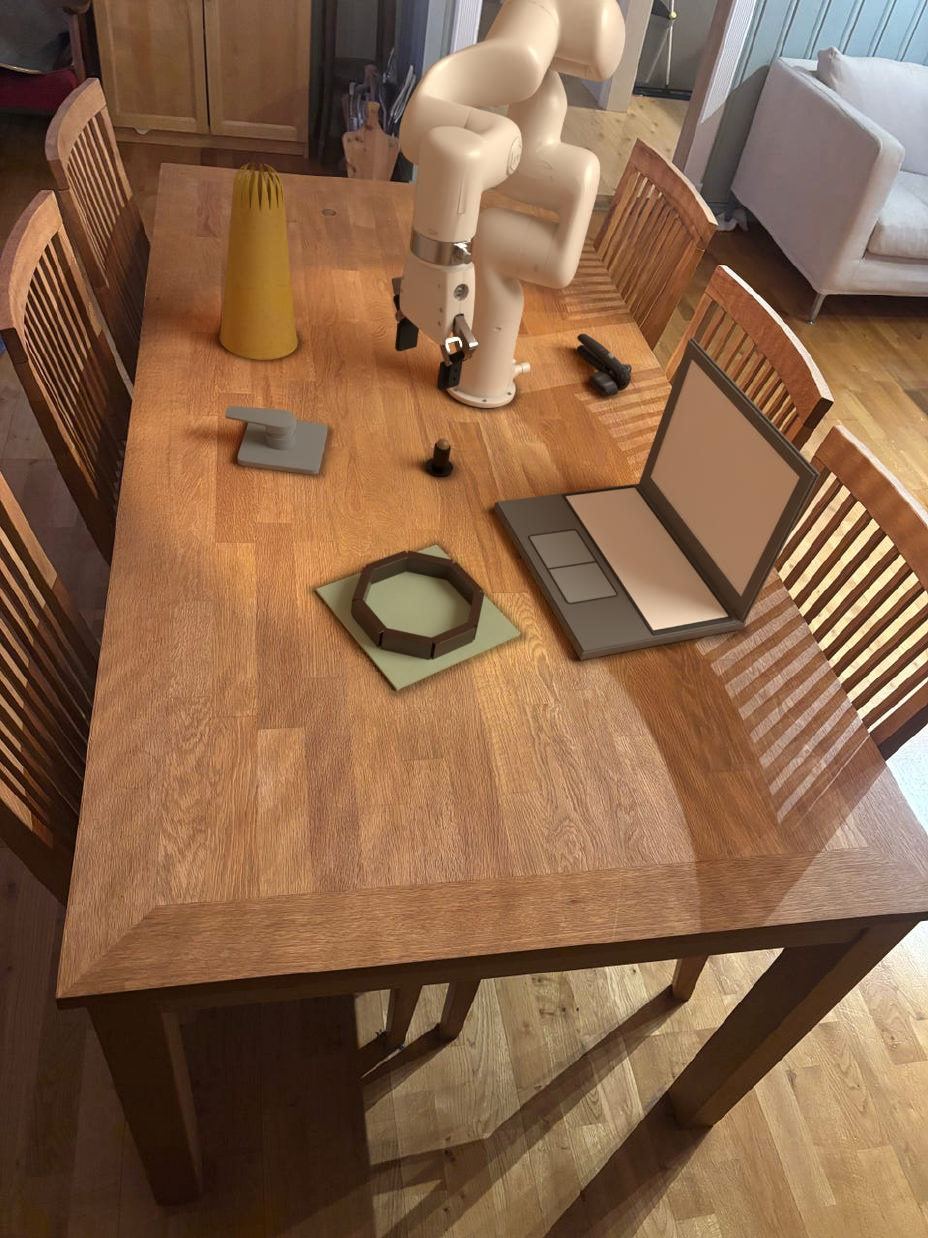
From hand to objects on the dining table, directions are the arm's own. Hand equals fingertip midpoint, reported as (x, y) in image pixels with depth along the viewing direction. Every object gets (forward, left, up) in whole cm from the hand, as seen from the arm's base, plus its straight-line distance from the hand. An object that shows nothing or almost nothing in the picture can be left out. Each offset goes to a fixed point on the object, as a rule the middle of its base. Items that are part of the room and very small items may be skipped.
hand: (426, 367), depth 127 cm
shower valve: (+9, -23, -25) cm, 36 cm away
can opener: (-55, -18, -25) cm, 63 cm away
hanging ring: (+10, +18, -25) cm, 32 cm away
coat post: (-11, -7, -25) cm, 28 cm away
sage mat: (+10, +18, -25) cm, 32 cm away
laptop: (-21, +24, -25) cm, 41 cm away
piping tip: (-3, -52, -25) cm, 58 cm away
